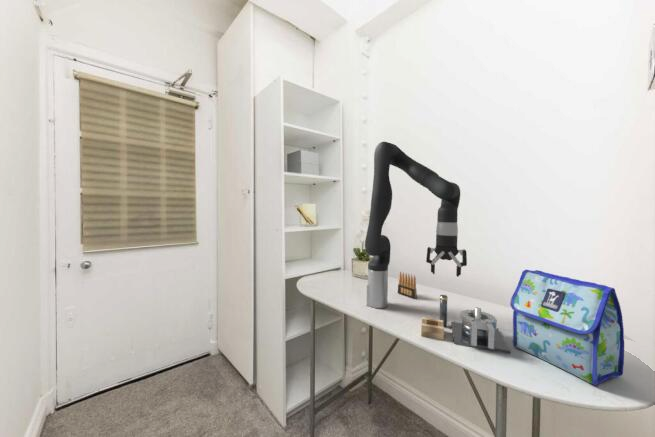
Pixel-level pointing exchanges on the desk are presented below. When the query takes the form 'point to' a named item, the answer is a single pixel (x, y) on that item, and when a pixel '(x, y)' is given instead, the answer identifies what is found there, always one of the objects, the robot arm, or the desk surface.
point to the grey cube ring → (479, 326)
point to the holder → (432, 328)
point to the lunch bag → (569, 324)
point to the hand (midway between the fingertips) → (445, 274)
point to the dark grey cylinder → (443, 309)
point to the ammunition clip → (407, 286)
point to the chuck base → (463, 334)
